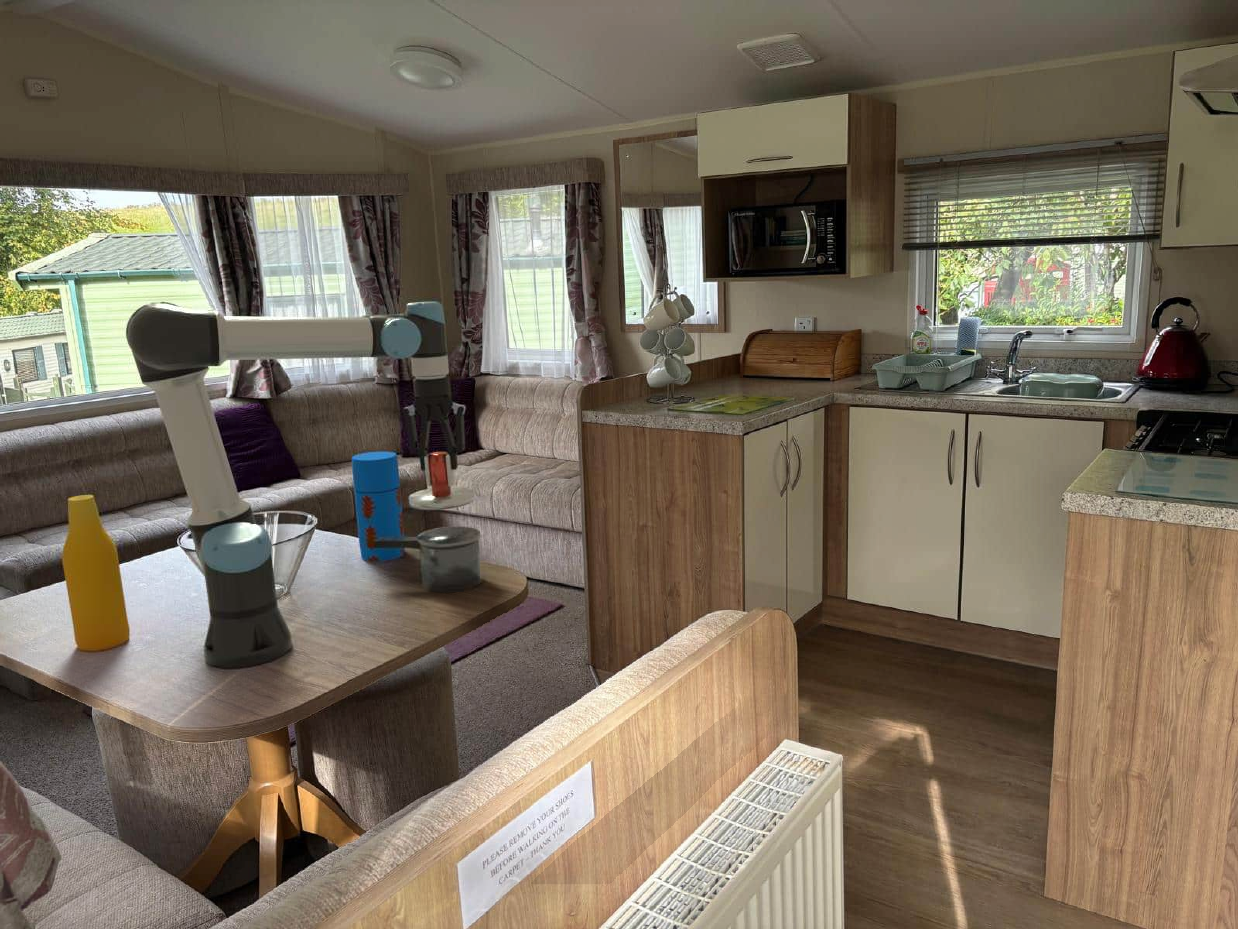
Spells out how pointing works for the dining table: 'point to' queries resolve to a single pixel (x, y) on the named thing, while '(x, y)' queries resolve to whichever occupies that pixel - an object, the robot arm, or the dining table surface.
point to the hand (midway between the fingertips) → (440, 484)
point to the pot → (444, 556)
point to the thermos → (377, 503)
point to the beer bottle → (93, 579)
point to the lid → (440, 489)
